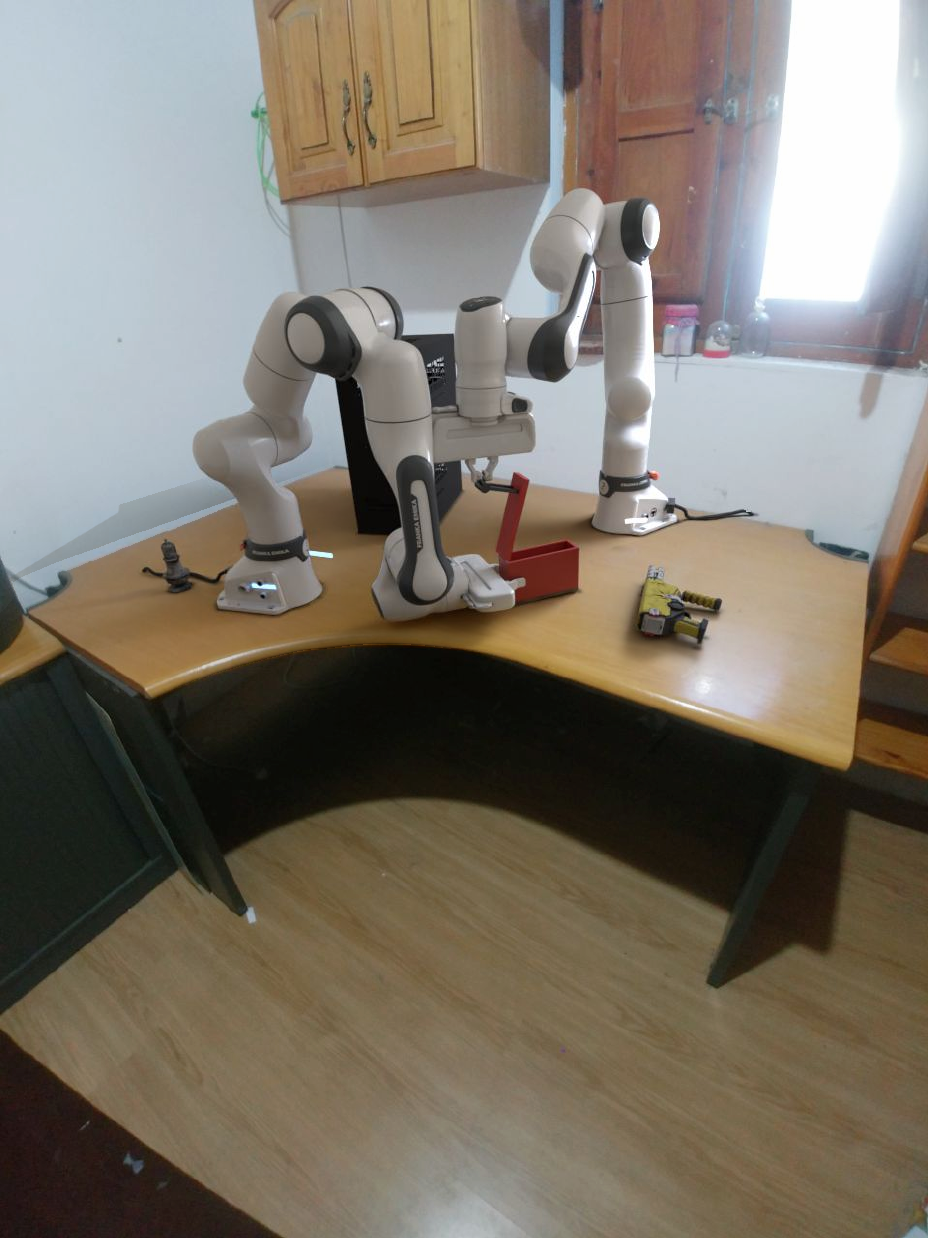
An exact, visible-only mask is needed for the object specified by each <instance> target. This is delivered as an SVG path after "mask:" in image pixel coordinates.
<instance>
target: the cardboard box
mask: <svg viewBox="0 0 928 1238" xmlns="http://www.w3.org/2000/svg"><path fill="white" fill-rule="evenodd" d="M454 335H455V332H452V333H429V334H427V333H426V334H425V333H424V334H423V333H422V334H402V337H401V339H400V340H401V341H405V342H408V343H410V344H412V345H413V346H415V347H416V348H417V349H418V350H419V352H420V353H421V355H422V358H423V362H424V366H425V370H426V375H427V379H428V385H429V391H430V399H431V410H432V408H434V407H445V406H452V405H456V389H455V383H456V378H457V365H456V362H455V354H454ZM438 360H439V361H438ZM435 363H436V364H435ZM428 365H430V366H428ZM344 376H345V375H344ZM334 382H335V389H336V395H337V402H338V409H339V416H340V422H341V430H342V436H343V443H344V449H345V455H346V462H347V469H348V476H349V482H350V490H351V496H352V504H353V510H354V517H355V523H356V529H357V534H373V535H374V534H375V535H376V534H377V535H390V534H391V533H392V532H393V531H394V530H396V529H398V528H400V527H402V526H401V518H400V511H399V506H398V502H397V499H396V496H395V494H394V492H393V489H392V487H391V485H390V483H389V482H388V480H387V478H386V476H385V475H384V473H383V471H382V470H381V468H380V466H379V465H378V463H377V461H376V460H375V457H374V455H373V452H372V449H371V446H370V442H369V439H368V435H367V430H366V423H365V416H364V405H363V396H362V391H361V388H360V386H359V384H358V382H357V381H356V380H355V379H354V378H353V377H352V376H351V377H350V378H349V379H347V380H346V381H340V380H337V379H335V378H334ZM432 414H433V413H432ZM433 463H434V462H433ZM434 483H435V492H436V499H437V508H438V516H439V523H440V522H441V521H442V520H443V518H444V517H445V516H446V514H447V513H448V512H449V509H451V507H452V506H453V504H454V503H455V501H456V500H457V499H458V497H459V496H460V495H461V494H462V491H463V475H462V460H460V461H451V462H442V463H434Z"/></svg>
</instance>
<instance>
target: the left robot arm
mask: <svg viewBox="0 0 928 1238" xmlns="http://www.w3.org/2000/svg"><path fill="white" fill-rule="evenodd" d="M404 328H405V323H404V314H403V311H402V308H401V306H400V304H399V302H398V301H397V300H396V298H395V297H394V296H393V295H392V294H390V293H389V292H388V291H386V290H384V289H382V288H378V287H374V286H361V287H344V288H338V289H335V290H333V291H332V290H331V291H329V292H328V291H327V292H324V293H321V294H319V295H316V294H315V295H309V296H308V295H306V294H304V293H301V292H297V291H285V292H282V293H280V294H279V295H278V296H276V297H275V298H274V300H273V301H272V303H271V304H270V306H269V308H268V309H267V311H266V313H265V315H264V317H263V319H262V321H261V323H260V325H259V328H258V330H257V332H256V336H255V339H254V341H253V343H252V347H251V351H250V354H249V358H248V360H247V364H246V367H245V370H244V374H243V377H242V385H243V389H244V391H245V393H246V396H247V397H248V399H249V400H250V401H251V403H252V404H253V405H252V407H251V408H250V409H249V410H248V411H245V412H243V413H240V414H235V415H232V416H227V417H225V418H220V419H217V420H215V421H213V422H212V423H210V424H207V425H206V426H204V427H203V428H201V429H199V430H198V431H197V432H196V433H195V434H194V436H193V440H192V456H193V459H194V461H195V463H196V465H197V466H198V468H199V470H201V471H202V473H204V475H206V476H207V477H208V478H209V479H212V480H213V481H216V482H218V483H220V484H222V485H223V486H225V487H226V488H227V490H229V492H230V493H231V494H232V495H233V497H234V498H235V500H236V501H237V503H238V505H239V507H240V510H241V512H242V517H243V520H244V523H245V527H246V530H247V531H246V532H247V534H246V537H245V538H244V539H243V540H242V541H241V542H242V543H240V545H239V546H238V548H240V549H239V551H240V552H242V551H243V550H244V554H243V555H242V556H241V557H240V558H239V559H238V560H237V561H236V562H235V563H234V564H232V565H230V566H228V567H227V568H224V570H222V571H220V572H219V573H218V574H217V575H216V577H215V578H209V577H207V576H204V575H203V574H200V573H197V572H193V571H190V572H189V574H190V575H189V577H190V576H191V577H196V578H198V579H201V580H203V581H205V582H208V583H211V584H213V583H214V584H215V583H218V582H219V581H220V580H221V578H222V577H223V576H224V575H225V576H224V582H223V583H224V586H223V588H224V589H223V590H222V591H221V592H220V593H219V595H218V596H217V599H216V607H217V609H219V610H226V611H235V612H244V613H252V614H253V613H254V614H263V615H272V616H277V615H281V614H282V613H285V612H286V611H288V610H291V609H294V608H297V607H301V606H303V605H306V604H309V603H310V602H313V601H314V600H315V599H317V598H318V597H320V595H321V594H322V592H323V586H322V584H321V582H320V580H319V578H318V577H317V574H316V571H315V569H314V567H313V564H312V560H311V558H310V557H311V556H315V557H323V558H328V559H329V558H330V559H333V556H334V555H333V553H331V552H322V551H314V550H310V544H309V540H308V537H307V533H306V530H305V528H303V522H302V518H301V512H300V508H299V502H298V498H297V496H296V495H295V494H294V492H292V490H290V489H288V488H287V487H284V486H282V485H279V484H277V483H276V481H275V479H274V477H273V474H272V468H274V467H279V466H281V465H283V464H285V463H289V462H292V461H293V460H295V459H297V458H298V457H299V456H302V454H303V453H305V452H306V451H307V450H309V448H310V447H311V446H312V442H313V438H314V437H313V436H314V434H313V428H312V425H311V422H310V420H309V418H308V417H307V415H306V414H305V413H304V410H305V405H306V402H307V399H308V396H309V394H310V391H311V389H312V387H313V383H314V381H315V379H316V376H317V374H319V375H325V376H328V377H330V378H332V379H334V380H335V379H337V380H340V381H346V380H347V379H349V378H350V377H351V376H352V377H353V378H354V379H355V380H356V381H357V383H358V385H359V386H360V388H361V391H362V396H363V405H364V416H365V423H366V430H367V435H368V439H369V442H370V446H371V449H372V452H373V455H374V457H375V460H376V461H377V463H378V465H379V466H380V468H381V470H382V471H383V473H384V475H385V476H386V478H387V480H388V482H389V483H390V485H391V487H392V489H393V492H394V494H395V496H396V499H397V502H398V506H399V511H400V518H401V526H402V527H400V528H398V529H396V530H394V531H393V532H392V533H391V534H388V536H386V538H385V540H384V542H383V547H382V548H383V549H382V550H383V552H382V559H381V564H380V569H379V571H378V574H377V577H376V578H375V580H374V582H373V583H372V584H371V587H370V592H371V597H372V600H373V602H374V606H375V608H376V610H377V612H378V615H379V616H380V617H381V618H382V619H383V620H384V621H387V622H393V623H394V622H404V621H405V622H406V621H411V620H415V619H421V618H424V617H427V616H428V615H430V614H433V613H439V614H441V613H443V614H444V613H448V612H453V611H457V610H461V609H466V608H469V609H472V610H473V609H474V610H476V611H478V612H480V613H493V612H500V611H506V610H510V609H512V608H513V607H514V605H515V591H514V590H516V589H517V588H519V587H524V586H525V579H524V578H523V577H522V576H519V577H514V580H512V581H504V580H503V579H502V578H501V577H500V576H499V563H488V562H487V561H486V560H485V559H484V558H483V557H482V556H481V555H480V554H477V553H468V554H462V555H461V554H460V555H455V556H452V557H448V556H446V554H445V551H444V548H443V544H442V543H443V542H442V535H441V526H440V525H441V524H440V522H439V516H438V508H437V499H436V492H435V483H434V463H433V431H432V410H431V399H430V391H429V385H428V379H427V375H426V370H425V366H424V362H423V358H422V355H421V353H420V352H419V350H418V349H417V348H416V347H415V346H413V345H412V344H410V343H408V342H405V341H401V340H400V339H401V337H402V335H404V334H403V333H404ZM344 375H345V376H344ZM141 572H142V573H146V572H148V573H149V574H151V575H153V576H155V577H163V576H162V575H163V574H164V573H165V572H157V571H155V570H153V569H152V568H150V567H148V566H144V567H143V568H142V570H141ZM515 606H516V605H515Z"/></svg>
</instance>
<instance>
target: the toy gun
mask: <svg viewBox="0 0 928 1238" xmlns="http://www.w3.org/2000/svg"><path fill="white" fill-rule="evenodd" d="M655 570H656V571H657V570H658V571H657V572H655ZM664 576H665V567H664V566H660V565H659V566H658V568H656V564H655V565H654V564H650V565H649V566H648V568H647V573H646V577H645V580H644V584H643V589H642V593H641V598H640V602H639V608H638V612H637V613H638V614H637V618H636V623H635V628H636V629H637V631H639V632H642V633H643V632H644V635H645V636H650V637H654V636H655V635H658V636H666V635H669V634H671V633H673V632H675V633H679V634H682V635H686V636H689V637H691V638H694V639H696V640H697V644H700V645H701V644H702V643H703V640H704V638H705V635H706V632H707V629H708V625H709V621H710V620H709V619H706V618H705V617H704V618H702V620H701V622H700V621H698V620H694V619H692V615H691V614H690V612H689V611H686V610H687V609H686V605H685V604H684V603H683V602H685V603H689V604H692V605H696V606H699V607H701V606H702V607H703V608H705V609H706V608H709V610H713V611H715V612H719V611H720V609H721V608H722V603H723V599H722V598H720V597H718V598H717V597H715V596H714V597H711V596H710V595H704V594H703V593H697V592H695V591H694V592H691V590H688V589H685V590H684V591H682V593H681V589H680V588H678V586H676V585H671V584H669V583H667V582H664Z"/></svg>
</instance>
